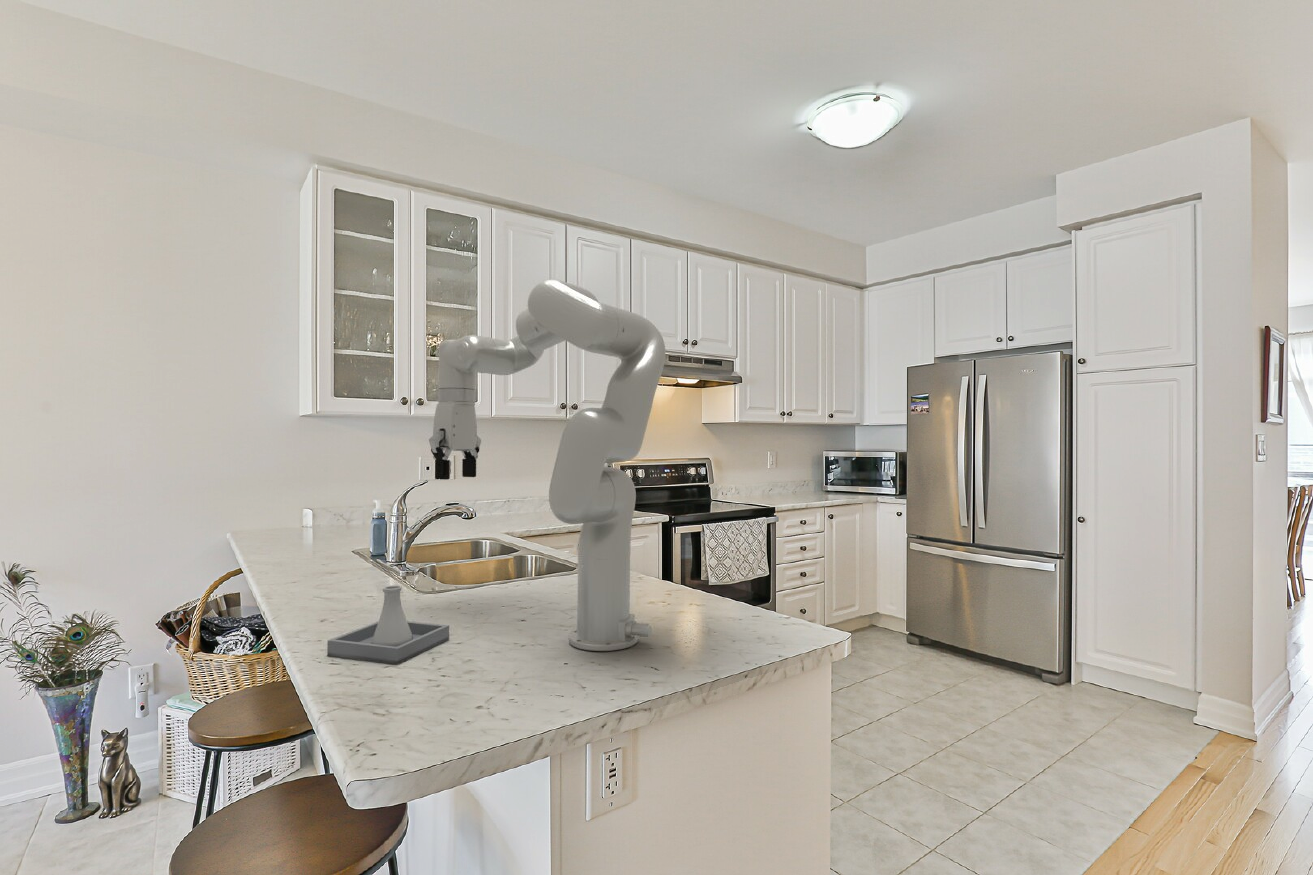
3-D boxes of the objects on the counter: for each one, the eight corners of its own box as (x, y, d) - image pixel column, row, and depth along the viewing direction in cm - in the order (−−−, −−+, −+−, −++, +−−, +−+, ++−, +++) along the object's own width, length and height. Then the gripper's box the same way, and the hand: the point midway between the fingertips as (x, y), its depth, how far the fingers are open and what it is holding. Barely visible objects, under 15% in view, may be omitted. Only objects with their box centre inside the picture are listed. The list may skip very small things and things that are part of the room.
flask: (420, 637, 117) (420, 582, 117) (404, 650, 110) (404, 591, 110) (380, 637, 117) (380, 582, 117) (361, 650, 110) (362, 591, 110)
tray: (449, 639, 118) (449, 625, 118) (397, 664, 105) (397, 648, 105) (385, 632, 122) (385, 618, 122) (327, 655, 109) (327, 640, 109)
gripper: (464, 401, 148) (464, 475, 148) (415, 395, 132) (415, 479, 132) (493, 400, 146) (493, 476, 146) (447, 395, 130) (447, 480, 129)
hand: (456, 478), depth 139 cm, fingers open, 9 cm apart
